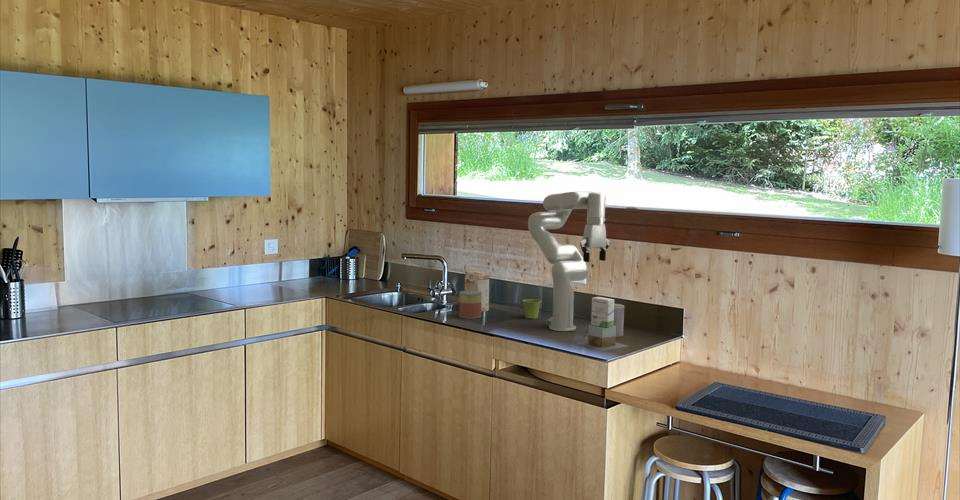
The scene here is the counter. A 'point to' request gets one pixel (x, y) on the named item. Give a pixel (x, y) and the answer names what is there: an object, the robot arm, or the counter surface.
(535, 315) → the plant pot
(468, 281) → the coffeecake box
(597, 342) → the bottom slab
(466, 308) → the canned food
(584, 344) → the mat
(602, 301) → the ink box
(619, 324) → the pillar candle
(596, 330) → the top slab
